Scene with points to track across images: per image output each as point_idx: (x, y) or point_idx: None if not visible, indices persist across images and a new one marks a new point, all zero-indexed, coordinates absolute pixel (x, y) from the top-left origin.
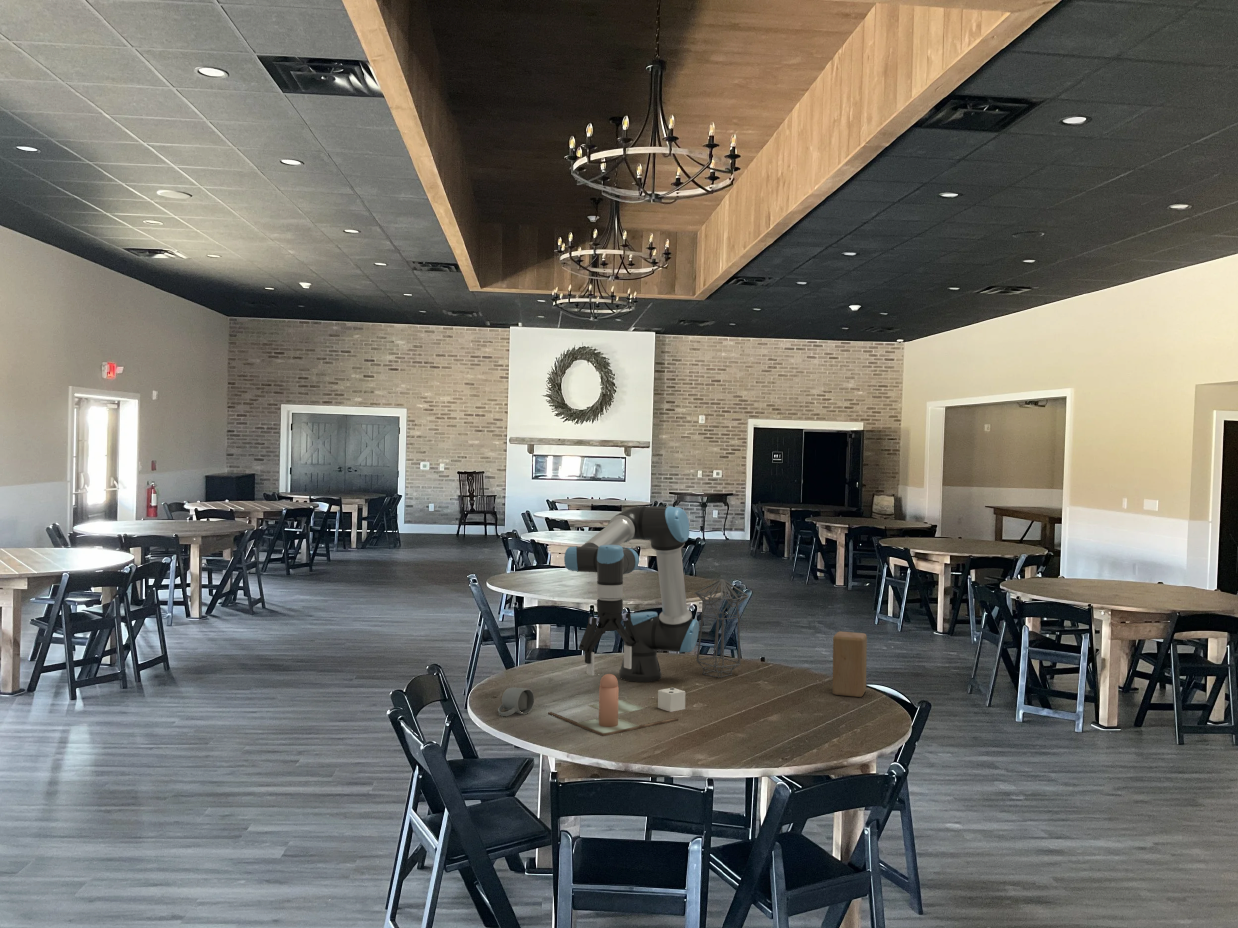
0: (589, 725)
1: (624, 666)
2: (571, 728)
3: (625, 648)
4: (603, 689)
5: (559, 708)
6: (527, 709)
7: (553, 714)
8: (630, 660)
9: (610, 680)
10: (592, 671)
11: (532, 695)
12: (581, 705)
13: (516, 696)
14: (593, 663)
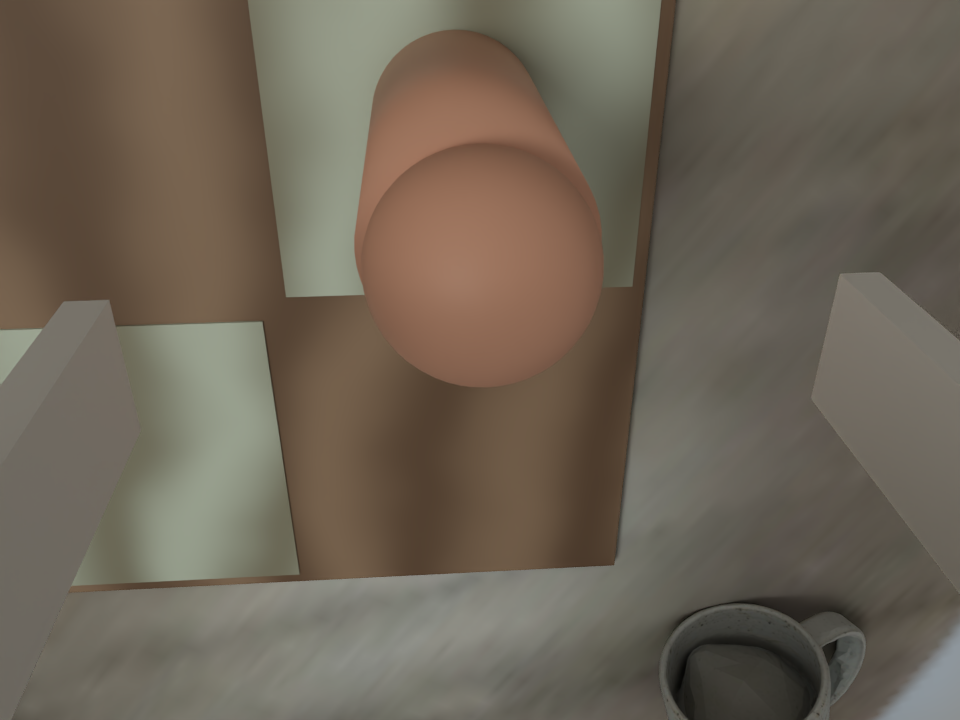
0: (607, 173)
1: (134, 422)
2: (725, 222)
3: (10, 646)
4: (594, 201)
5: (474, 615)
6: (684, 644)
7: (616, 518)
8: (33, 377)
9: (539, 194)
10: (904, 299)
11: (680, 712)
12: (313, 609)
13: (828, 704)
14: (958, 369)
